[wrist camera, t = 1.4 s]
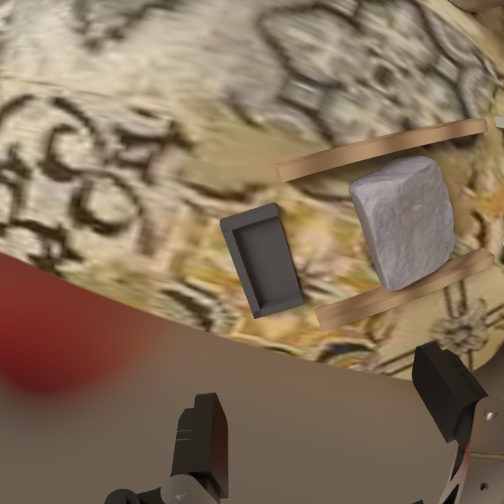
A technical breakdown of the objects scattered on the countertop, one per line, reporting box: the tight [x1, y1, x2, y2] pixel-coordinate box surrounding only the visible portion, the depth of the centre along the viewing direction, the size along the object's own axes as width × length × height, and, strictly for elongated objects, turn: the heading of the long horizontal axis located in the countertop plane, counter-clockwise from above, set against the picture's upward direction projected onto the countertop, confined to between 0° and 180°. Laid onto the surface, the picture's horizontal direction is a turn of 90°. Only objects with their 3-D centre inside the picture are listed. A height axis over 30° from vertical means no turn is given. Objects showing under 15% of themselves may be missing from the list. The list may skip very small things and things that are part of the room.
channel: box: [275, 118, 495, 332], centre depth 28 cm, size 22×16×2 cm
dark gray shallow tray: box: [220, 203, 304, 319], centre depth 30 cm, size 5×10×2 cm, turn 18°
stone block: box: [349, 155, 456, 291], centre depth 28 cm, size 12×5×10 cm
